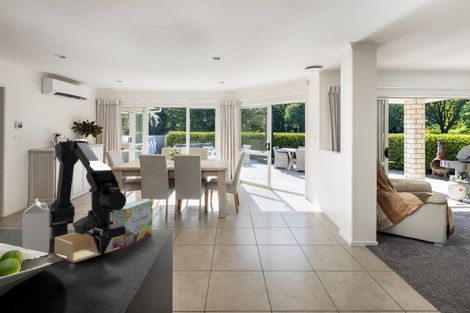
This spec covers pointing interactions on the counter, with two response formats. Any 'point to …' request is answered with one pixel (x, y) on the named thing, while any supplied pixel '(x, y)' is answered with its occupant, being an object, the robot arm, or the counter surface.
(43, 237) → the milk carton
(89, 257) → the front flap
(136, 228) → the snack box
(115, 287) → the counter surface
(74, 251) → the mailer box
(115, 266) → the counter surface
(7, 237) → the counter surface
